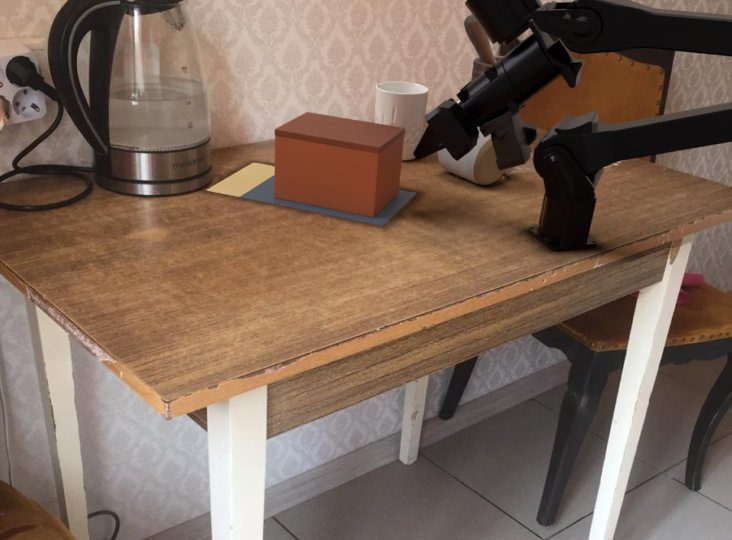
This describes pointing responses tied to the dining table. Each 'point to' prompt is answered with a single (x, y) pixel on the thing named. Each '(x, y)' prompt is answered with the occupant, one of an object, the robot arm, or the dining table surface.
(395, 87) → the white cup
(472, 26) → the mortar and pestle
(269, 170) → the mat
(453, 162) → the ceramic mug
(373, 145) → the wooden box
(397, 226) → the dining table surface
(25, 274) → the dining table surface
